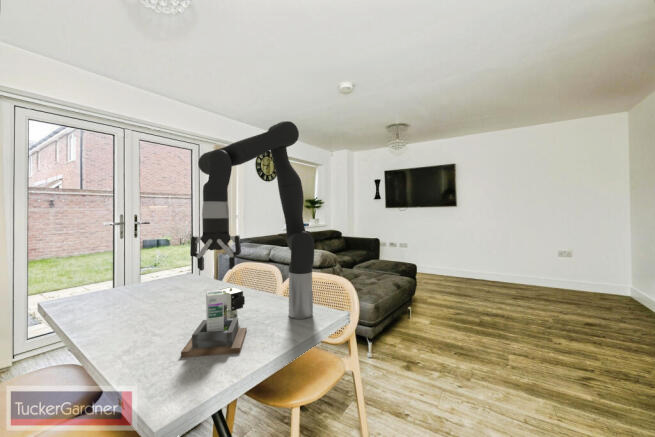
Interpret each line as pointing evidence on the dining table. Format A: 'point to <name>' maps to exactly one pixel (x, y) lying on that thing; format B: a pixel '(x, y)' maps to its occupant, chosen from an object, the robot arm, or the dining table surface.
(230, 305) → the pneumatic valve
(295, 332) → the dining table surface
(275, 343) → the dining table surface
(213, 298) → the syrup box
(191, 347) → the dock socket
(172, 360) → the dining table surface
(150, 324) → the dining table surface
